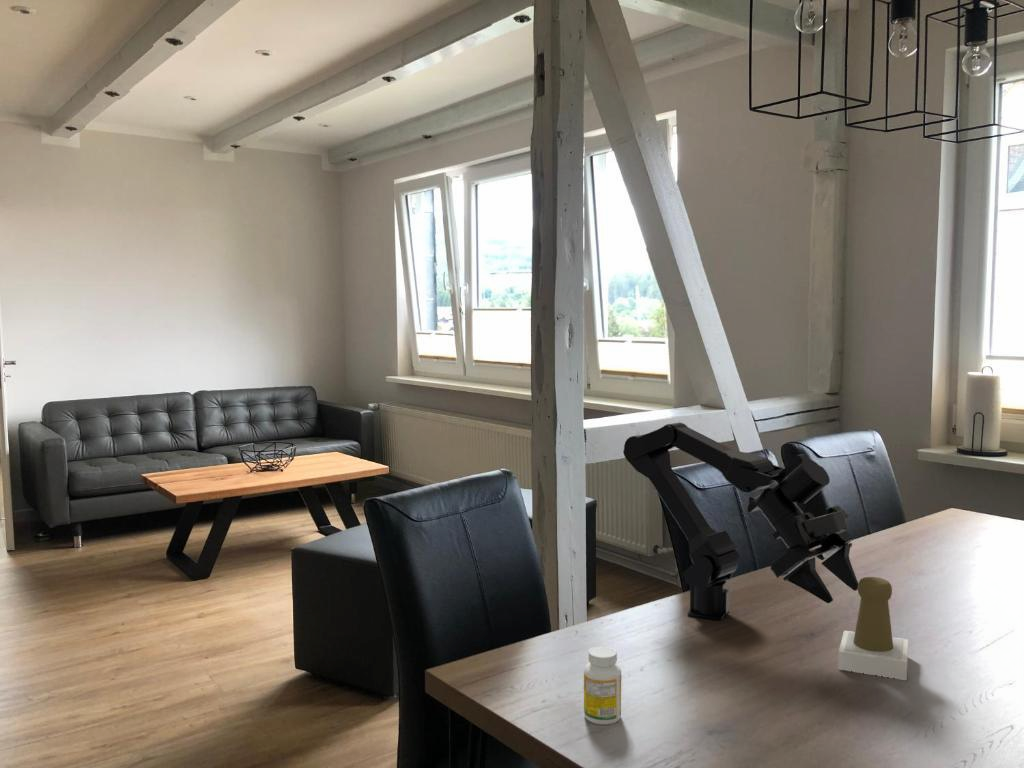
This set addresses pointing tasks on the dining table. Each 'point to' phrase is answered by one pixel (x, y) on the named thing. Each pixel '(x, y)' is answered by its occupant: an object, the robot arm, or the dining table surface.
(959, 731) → the dining table surface
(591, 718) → the supplement bottle
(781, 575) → the robot arm
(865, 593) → the cork
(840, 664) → the tray
